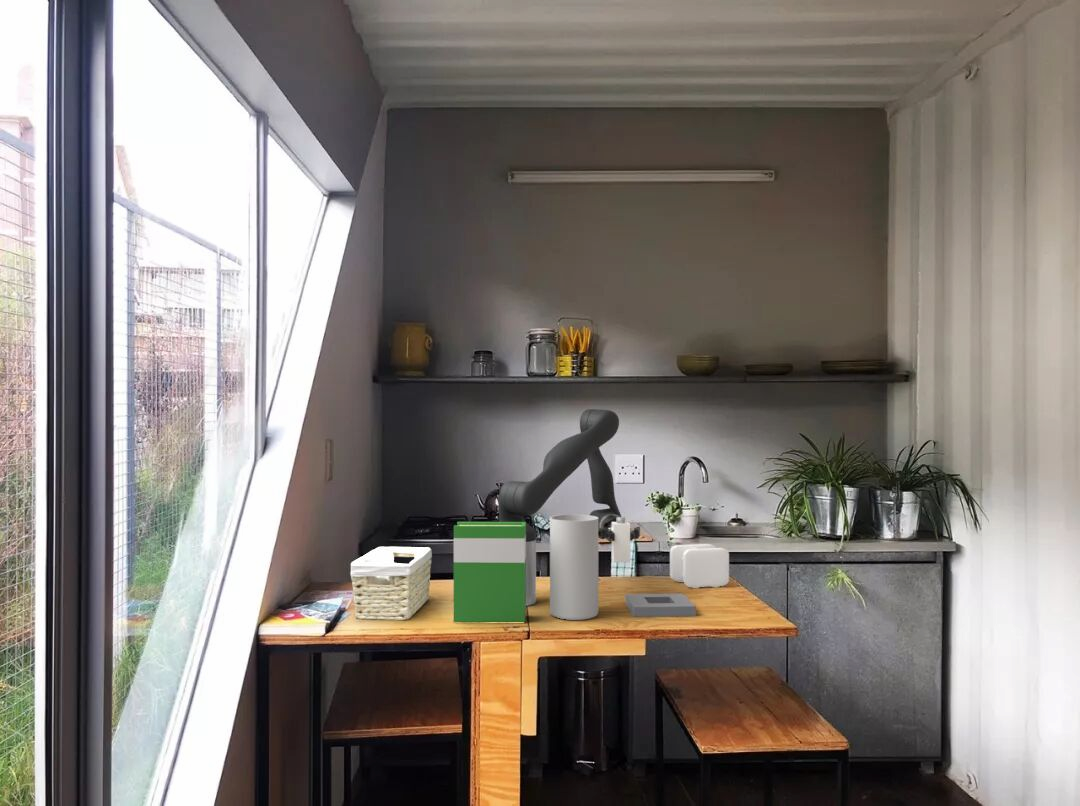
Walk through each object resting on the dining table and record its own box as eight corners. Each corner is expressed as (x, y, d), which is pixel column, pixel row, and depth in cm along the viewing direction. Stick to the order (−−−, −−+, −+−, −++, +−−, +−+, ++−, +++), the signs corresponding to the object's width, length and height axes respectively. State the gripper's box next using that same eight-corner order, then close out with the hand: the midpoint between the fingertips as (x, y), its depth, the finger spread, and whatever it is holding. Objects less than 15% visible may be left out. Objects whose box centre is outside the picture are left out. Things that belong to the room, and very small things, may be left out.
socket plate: (633, 616, 194) (633, 607, 195) (625, 603, 208) (625, 594, 208) (695, 616, 195) (695, 606, 195) (683, 602, 209) (683, 593, 209)
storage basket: (410, 623, 189) (410, 563, 190) (347, 621, 191) (347, 562, 191) (433, 599, 213) (433, 546, 213) (377, 598, 215) (377, 545, 215)
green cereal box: (453, 622, 189) (453, 526, 189) (457, 615, 196) (457, 521, 197) (524, 623, 189) (524, 526, 189) (525, 615, 196) (525, 522, 196)
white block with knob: (614, 562, 210) (614, 518, 211) (611, 559, 215) (611, 516, 215) (630, 562, 211) (630, 518, 211) (627, 559, 215) (627, 516, 215)
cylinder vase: (544, 619, 192) (544, 520, 193) (556, 607, 204) (556, 513, 205) (593, 622, 189) (593, 521, 189) (602, 610, 201) (602, 515, 202)
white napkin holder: (682, 589, 225) (682, 550, 225) (669, 582, 235) (669, 544, 235) (729, 587, 228) (729, 548, 228) (714, 579, 238) (714, 542, 238)
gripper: (589, 515, 227) (596, 523, 210) (636, 514, 228) (648, 523, 210) (589, 540, 227) (596, 550, 210) (636, 540, 227) (648, 550, 210)
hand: (622, 536), depth 210 cm, fingers closed on white block with knob, 4 cm apart
